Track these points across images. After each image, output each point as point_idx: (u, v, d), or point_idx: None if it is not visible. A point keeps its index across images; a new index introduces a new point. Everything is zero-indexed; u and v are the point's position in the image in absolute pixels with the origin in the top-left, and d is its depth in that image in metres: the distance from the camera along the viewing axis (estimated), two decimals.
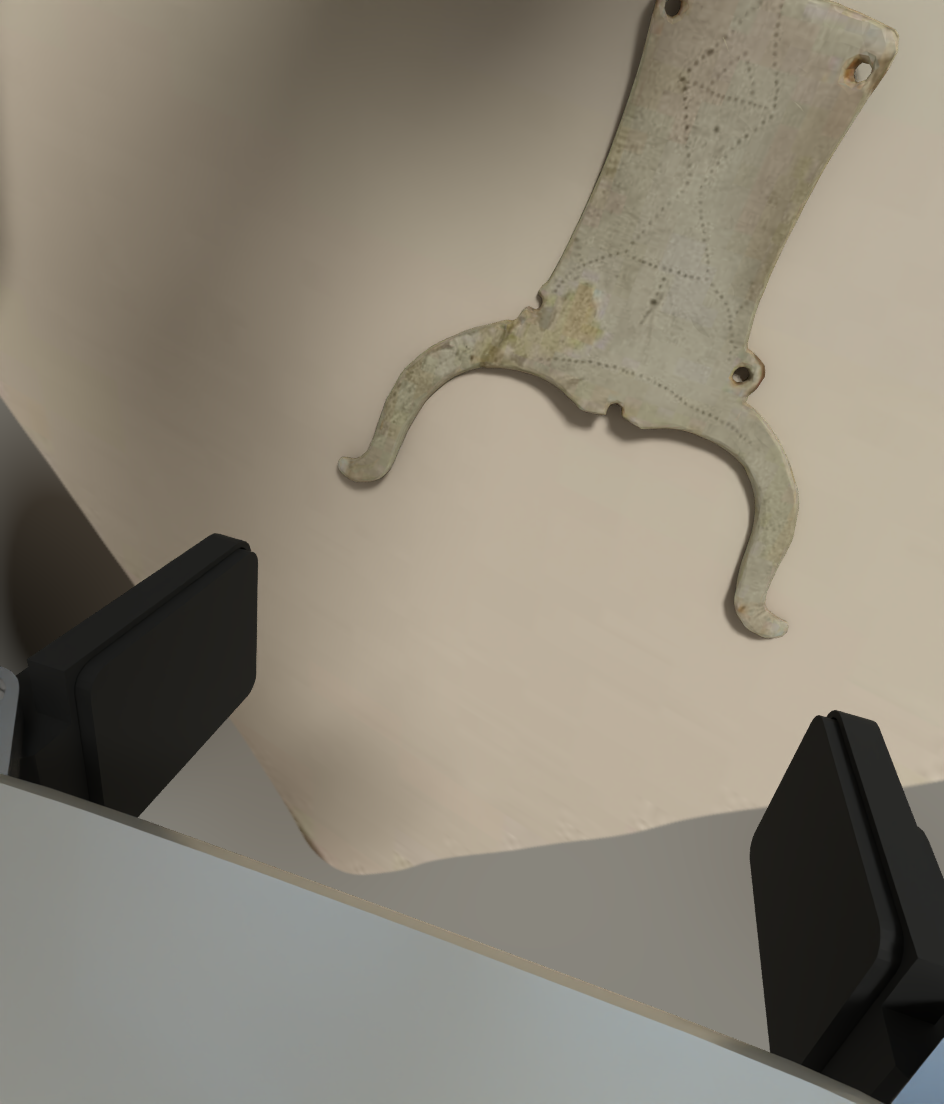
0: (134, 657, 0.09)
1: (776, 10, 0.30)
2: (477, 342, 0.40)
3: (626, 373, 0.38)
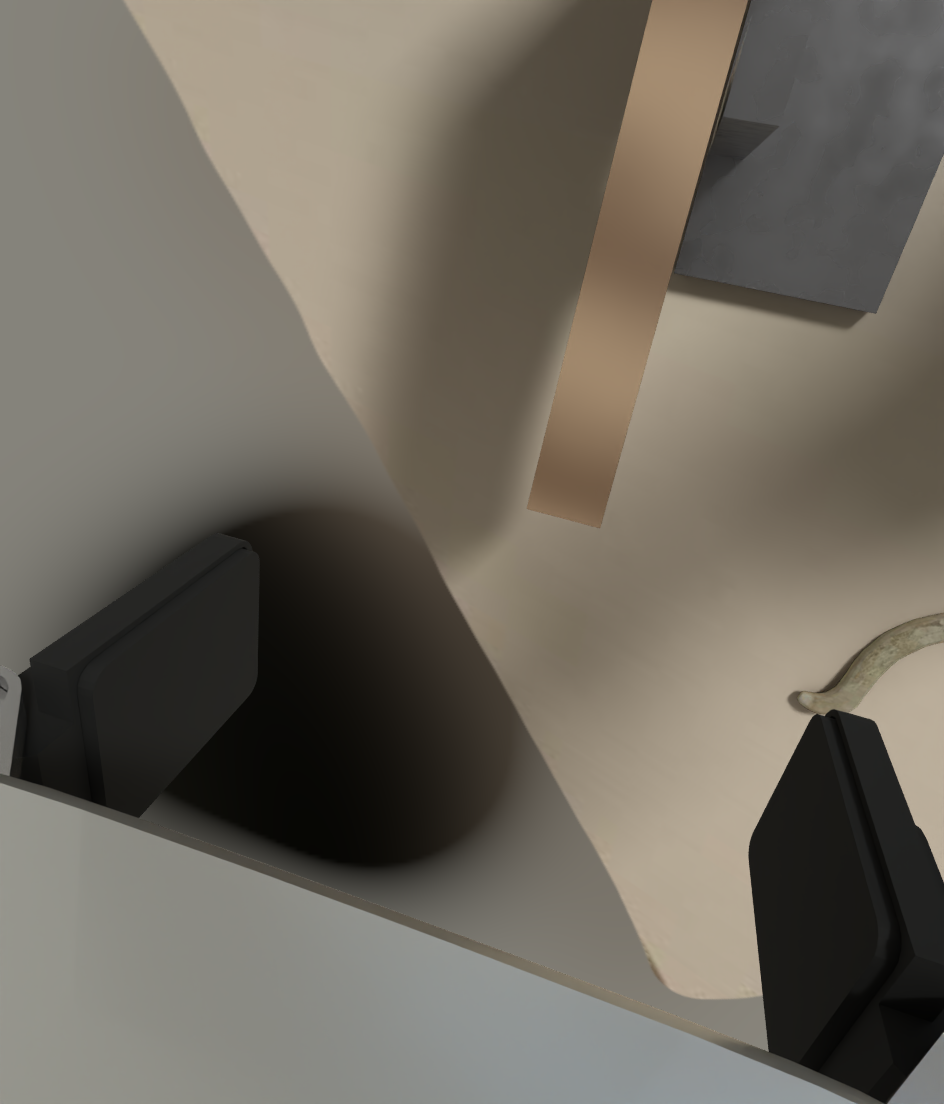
0: (136, 658, 0.09)
1: None
2: None
3: None
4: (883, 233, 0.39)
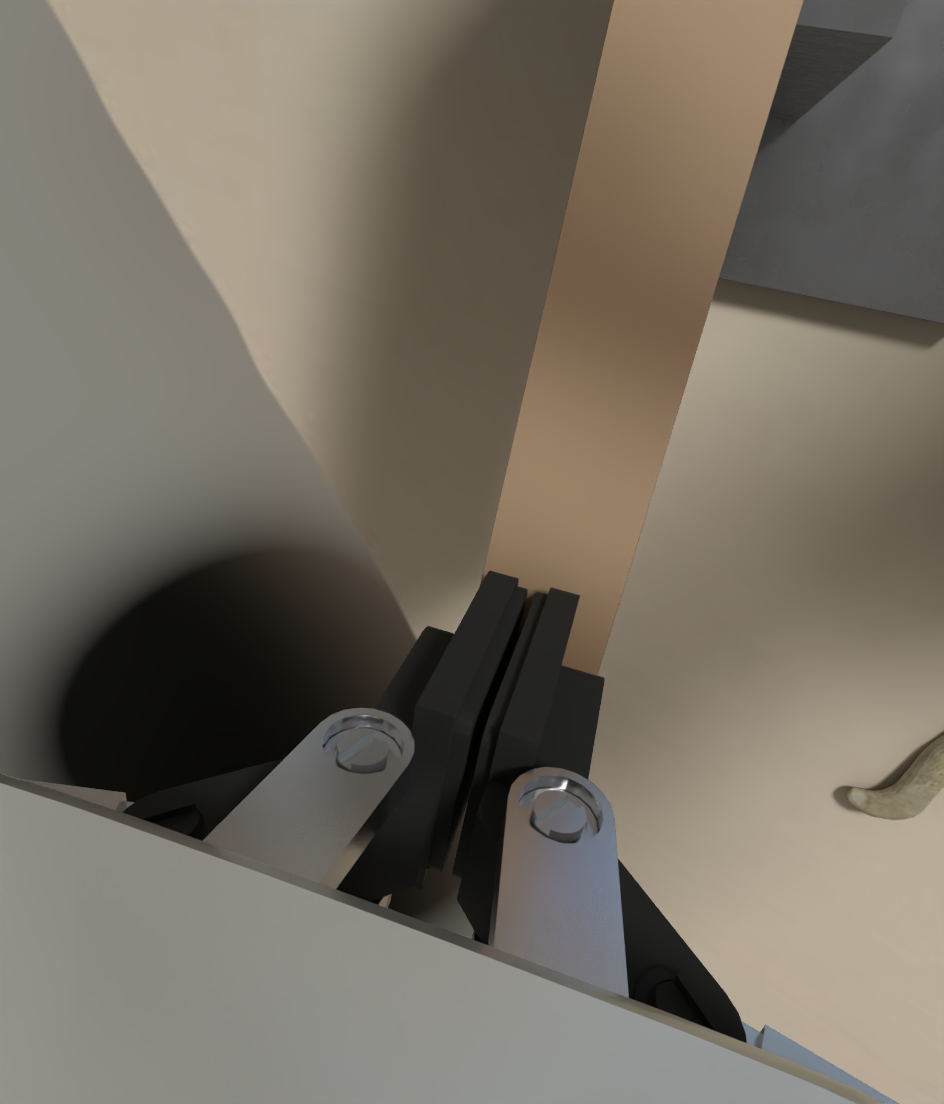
0: (484, 699, 0.09)
1: None
2: None
3: None
4: None
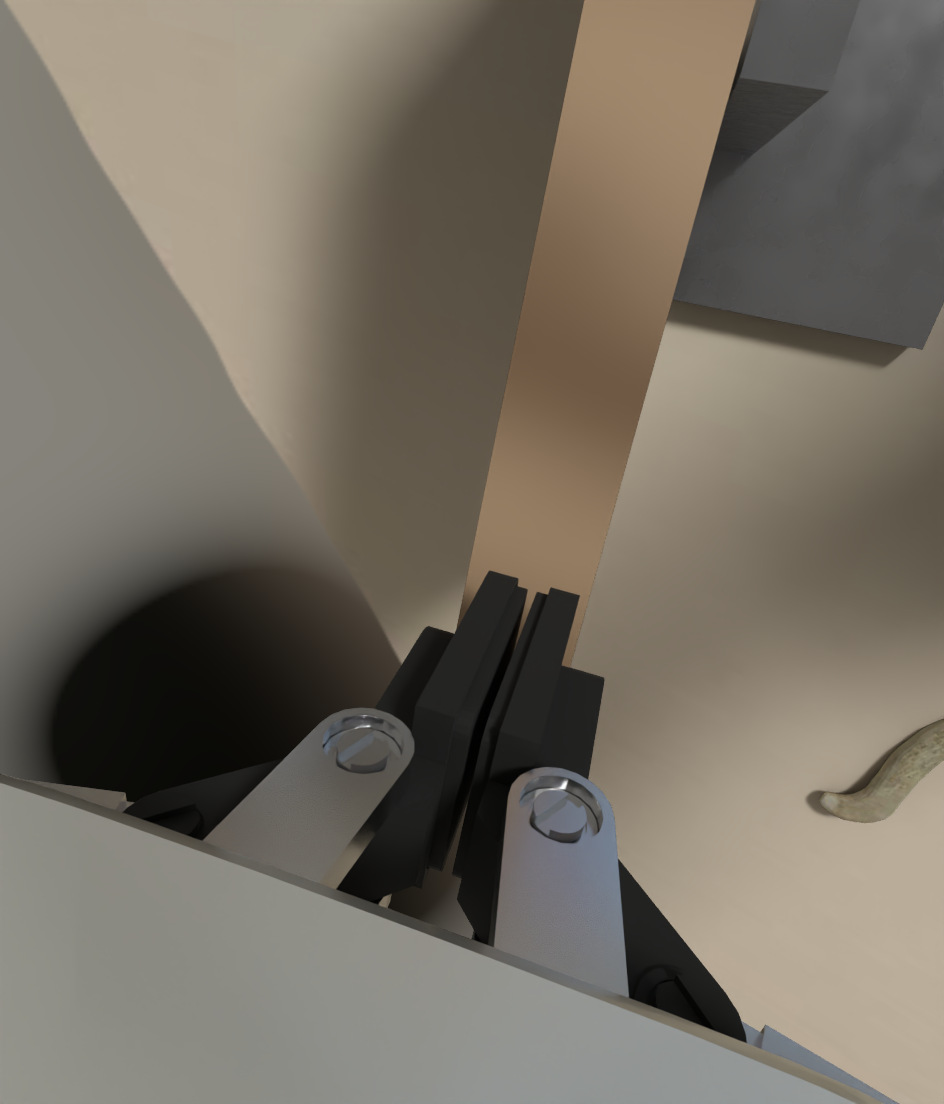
0: (483, 699, 0.09)
1: None
2: None
3: None
4: (933, 248, 0.31)
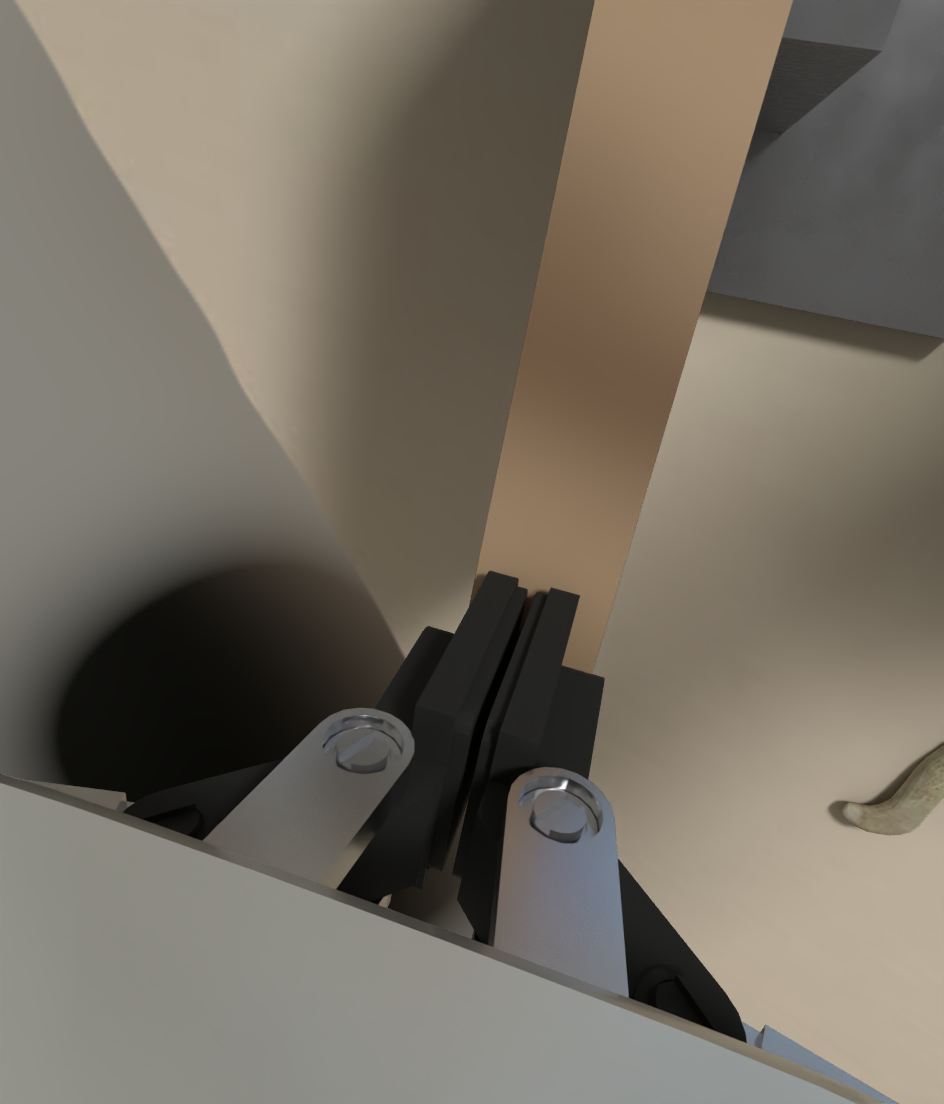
0: (483, 699, 0.09)
1: None
2: None
3: None
4: None
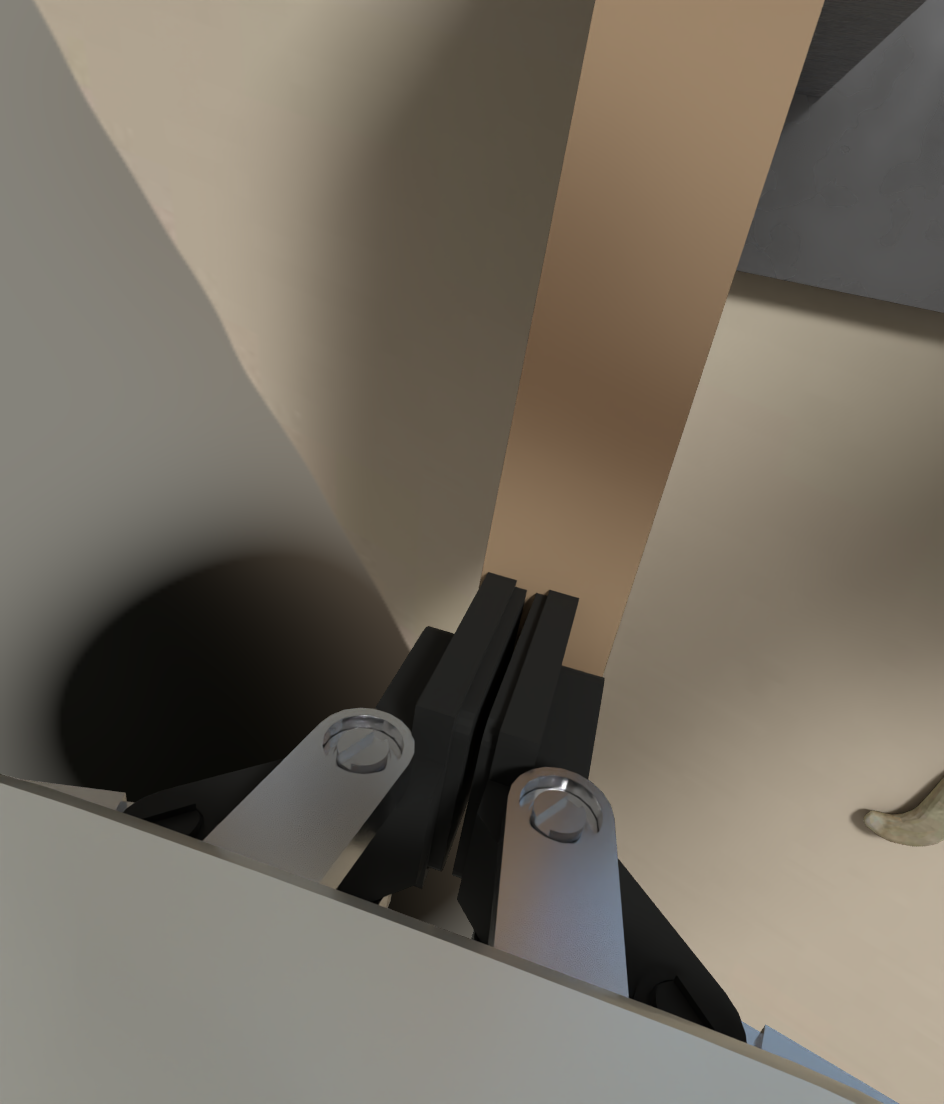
0: (484, 699, 0.09)
1: None
2: None
3: None
4: None
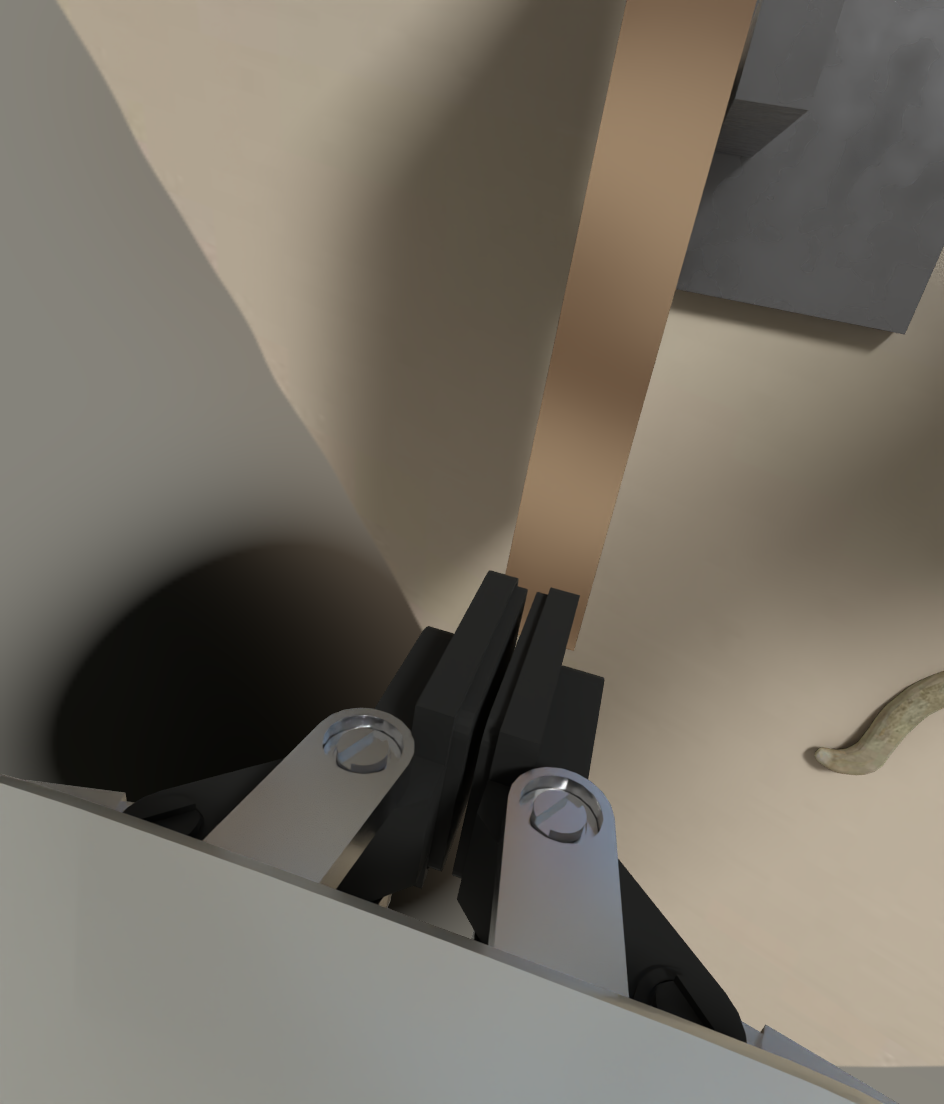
0: (484, 699, 0.09)
1: None
2: None
3: None
4: (914, 242, 0.34)
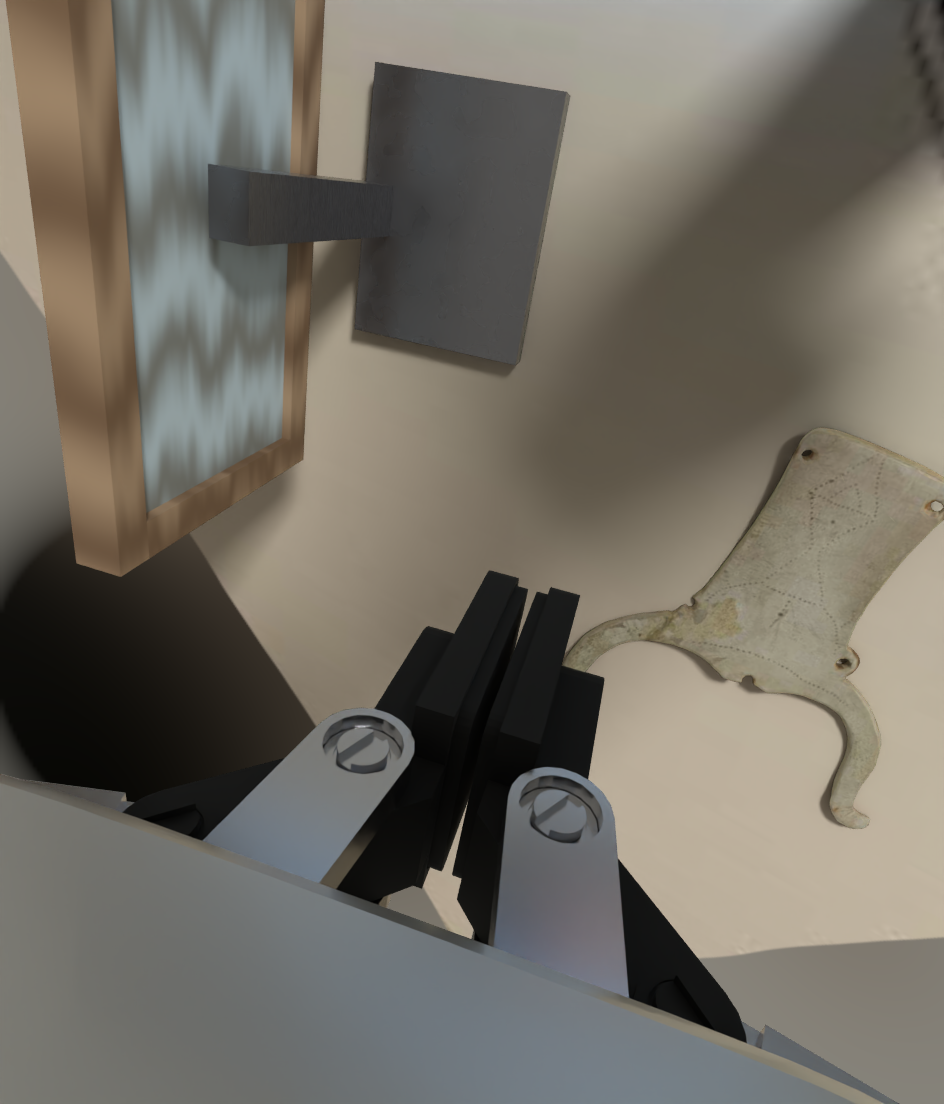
0: (484, 699, 0.09)
1: (878, 465, 0.45)
2: (645, 625, 0.55)
3: (758, 657, 0.53)
4: (507, 298, 0.46)
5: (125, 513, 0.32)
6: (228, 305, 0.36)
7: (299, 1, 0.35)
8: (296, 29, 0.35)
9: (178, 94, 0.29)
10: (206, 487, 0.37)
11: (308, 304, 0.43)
